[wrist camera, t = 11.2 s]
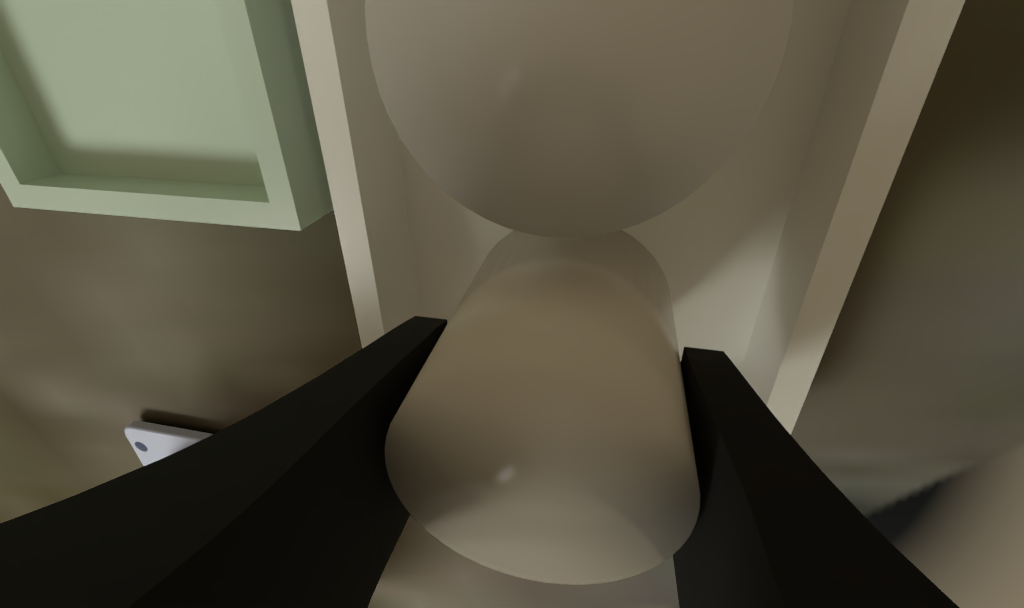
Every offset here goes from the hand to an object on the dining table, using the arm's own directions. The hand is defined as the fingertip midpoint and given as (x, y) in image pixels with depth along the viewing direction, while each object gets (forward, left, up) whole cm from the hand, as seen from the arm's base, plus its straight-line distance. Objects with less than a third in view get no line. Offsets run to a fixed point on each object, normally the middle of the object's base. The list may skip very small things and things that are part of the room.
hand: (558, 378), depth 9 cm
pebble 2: (0, 0, -2) cm, 2 cm away
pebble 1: (+5, 0, -3) cm, 6 cm away
